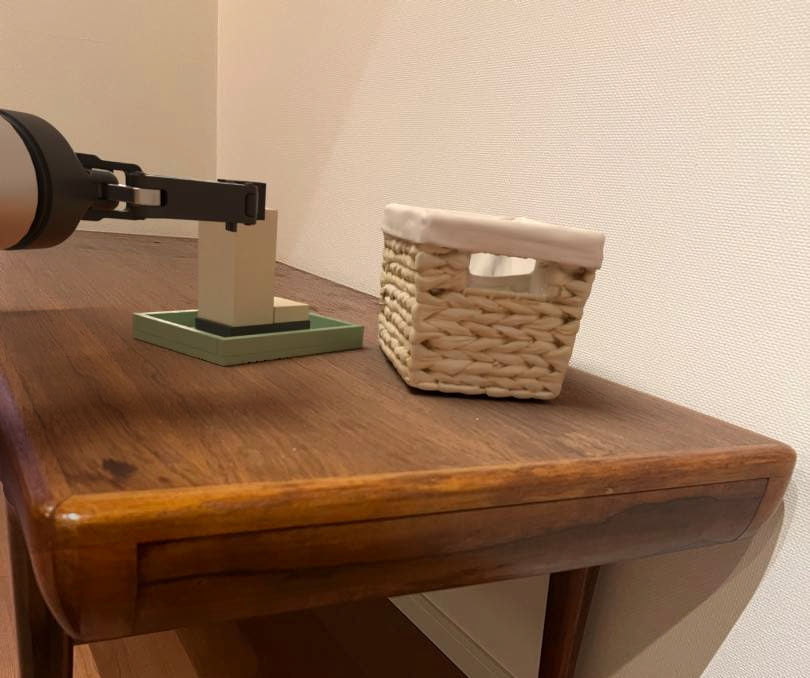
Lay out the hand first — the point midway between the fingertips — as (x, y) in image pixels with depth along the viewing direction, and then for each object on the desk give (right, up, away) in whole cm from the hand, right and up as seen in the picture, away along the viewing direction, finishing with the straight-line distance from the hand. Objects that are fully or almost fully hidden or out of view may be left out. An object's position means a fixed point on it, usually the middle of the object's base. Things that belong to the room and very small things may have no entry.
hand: (184, 190), depth 63 cm
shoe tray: (+3, -8, +16) cm, 18 cm away
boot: (+3, -8, +16) cm, 18 cm away
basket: (+23, -12, +15) cm, 30 cm away
